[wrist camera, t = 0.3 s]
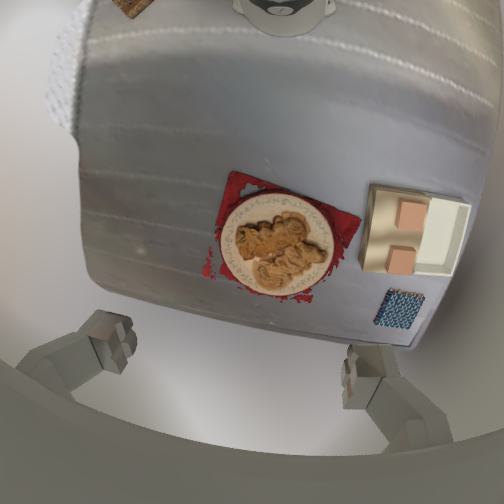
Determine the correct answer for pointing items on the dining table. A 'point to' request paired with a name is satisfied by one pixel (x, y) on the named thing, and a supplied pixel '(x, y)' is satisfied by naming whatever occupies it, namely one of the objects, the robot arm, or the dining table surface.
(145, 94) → the dining table surface
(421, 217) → the terracotta tile
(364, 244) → the wooden box sleeve
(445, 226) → the box
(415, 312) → the woven mat
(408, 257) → the terracotta tile
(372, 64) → the dining table surface
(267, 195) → the plate with food
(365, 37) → the dining table surface
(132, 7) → the bird sculpture
